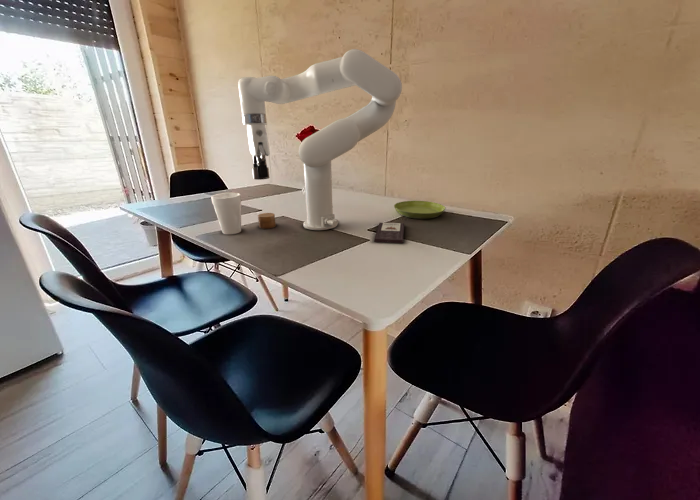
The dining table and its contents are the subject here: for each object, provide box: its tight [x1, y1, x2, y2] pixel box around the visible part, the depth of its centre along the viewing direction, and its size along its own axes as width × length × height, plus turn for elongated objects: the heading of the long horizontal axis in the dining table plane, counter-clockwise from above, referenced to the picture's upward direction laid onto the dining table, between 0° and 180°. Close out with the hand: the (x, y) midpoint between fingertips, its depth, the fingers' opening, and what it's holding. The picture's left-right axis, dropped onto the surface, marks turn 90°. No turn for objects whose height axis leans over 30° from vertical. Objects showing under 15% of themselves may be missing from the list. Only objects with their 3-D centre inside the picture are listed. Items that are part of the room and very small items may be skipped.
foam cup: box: [210, 192, 242, 235], centre depth 109 cm, size 10×9×13 cm
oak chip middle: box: [257, 212, 276, 223], centre depth 115 cm, size 6×6×2 cm
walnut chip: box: [251, 166, 270, 181], centre depth 109 cm, size 6×6×4 cm
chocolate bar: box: [373, 222, 405, 244], centre depth 106 cm, size 9×1×18 cm
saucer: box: [393, 200, 446, 220], centre depth 128 cm, size 21×21×3 cm
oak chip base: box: [258, 220, 277, 230], centre depth 116 cm, size 6×6×2 cm
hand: (261, 175), depth 109 cm, fingers closed on walnut chip, 5 cm apart
